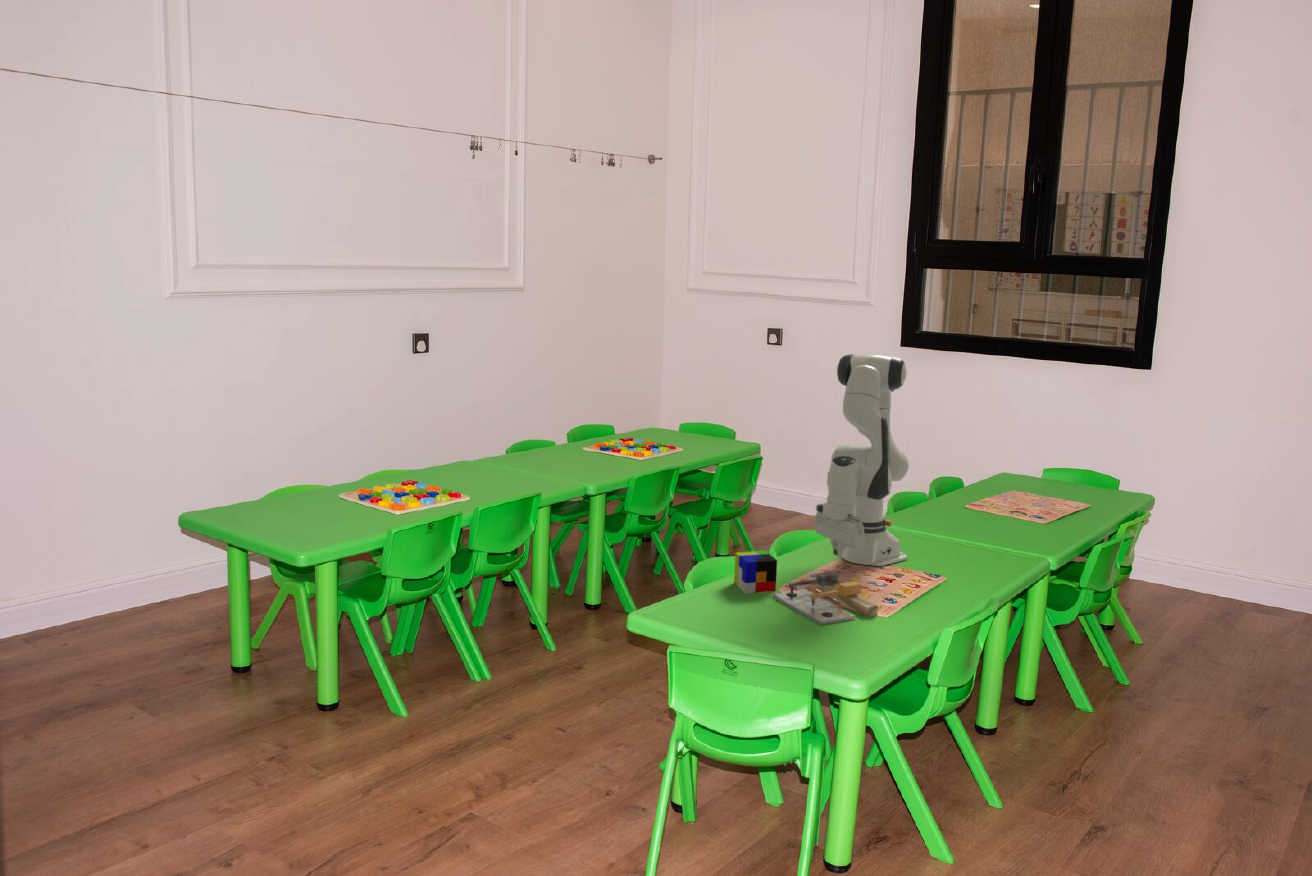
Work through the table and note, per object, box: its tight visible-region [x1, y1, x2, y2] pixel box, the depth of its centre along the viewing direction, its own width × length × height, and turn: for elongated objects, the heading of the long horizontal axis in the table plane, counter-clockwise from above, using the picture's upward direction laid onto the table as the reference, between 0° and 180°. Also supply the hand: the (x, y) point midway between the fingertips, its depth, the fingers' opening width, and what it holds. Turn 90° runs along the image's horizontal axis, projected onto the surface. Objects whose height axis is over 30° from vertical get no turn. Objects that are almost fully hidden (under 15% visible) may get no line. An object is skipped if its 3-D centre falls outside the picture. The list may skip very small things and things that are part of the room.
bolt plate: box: [772, 588, 856, 626], centre depth 308 cm, size 12×25×1 cm, turn 27°
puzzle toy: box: [733, 550, 778, 594], centre depth 324 cm, size 10×10×10 cm
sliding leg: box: [810, 580, 862, 605], centre depth 309 cm, size 17×3×5 cm, turn 117°
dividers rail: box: [788, 570, 879, 618], centre depth 310 cm, size 17×25×6 cm
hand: (837, 555), depth 315 cm, fingers closed
